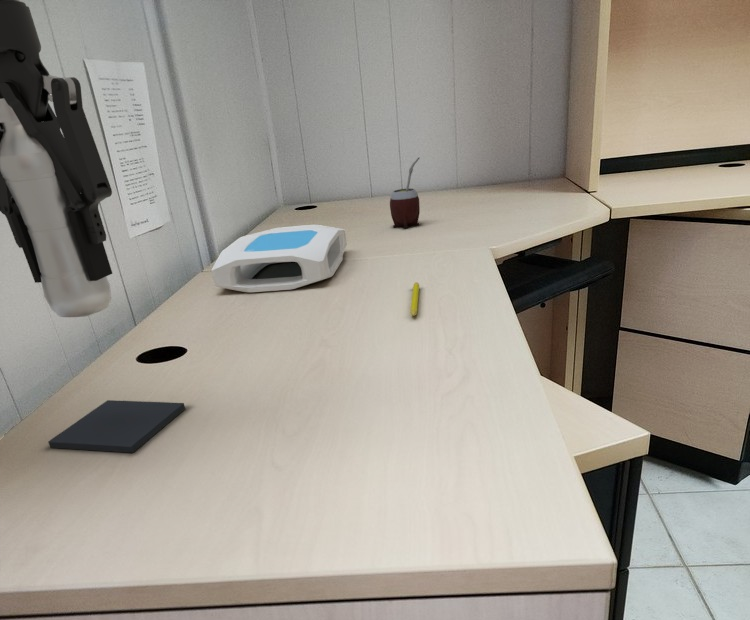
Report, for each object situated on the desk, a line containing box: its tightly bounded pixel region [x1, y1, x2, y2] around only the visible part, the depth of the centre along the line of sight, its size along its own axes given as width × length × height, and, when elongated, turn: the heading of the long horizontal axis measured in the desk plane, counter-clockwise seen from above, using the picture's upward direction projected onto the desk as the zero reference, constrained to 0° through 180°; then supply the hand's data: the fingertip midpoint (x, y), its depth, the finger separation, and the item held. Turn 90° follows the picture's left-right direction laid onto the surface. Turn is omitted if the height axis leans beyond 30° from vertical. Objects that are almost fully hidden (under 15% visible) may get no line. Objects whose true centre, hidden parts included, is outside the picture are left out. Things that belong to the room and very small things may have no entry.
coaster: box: [47, 399, 186, 454], centre depth 76 cm, size 11×11×1 cm
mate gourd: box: [389, 157, 421, 230], centre depth 156 cm, size 8×8×15 cm
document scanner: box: [210, 224, 347, 293], centre depth 131 cm, size 21×28×6 cm
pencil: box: [409, 282, 420, 317], centre depth 106 cm, size 16×1×1 cm, turn 175°
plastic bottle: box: [0, 98, 112, 318], centre depth 65 cm, size 6×7×20 cm
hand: (73, 277), depth 69 cm, fingers closed on plastic bottle, 6 cm apart
